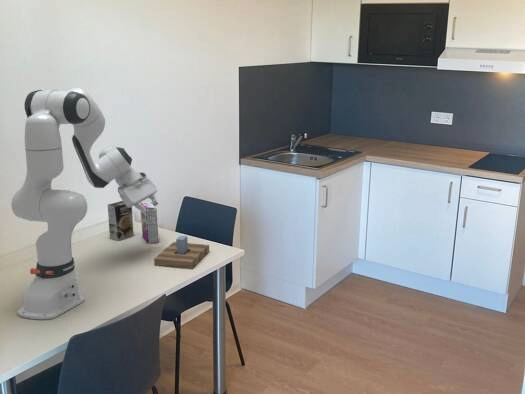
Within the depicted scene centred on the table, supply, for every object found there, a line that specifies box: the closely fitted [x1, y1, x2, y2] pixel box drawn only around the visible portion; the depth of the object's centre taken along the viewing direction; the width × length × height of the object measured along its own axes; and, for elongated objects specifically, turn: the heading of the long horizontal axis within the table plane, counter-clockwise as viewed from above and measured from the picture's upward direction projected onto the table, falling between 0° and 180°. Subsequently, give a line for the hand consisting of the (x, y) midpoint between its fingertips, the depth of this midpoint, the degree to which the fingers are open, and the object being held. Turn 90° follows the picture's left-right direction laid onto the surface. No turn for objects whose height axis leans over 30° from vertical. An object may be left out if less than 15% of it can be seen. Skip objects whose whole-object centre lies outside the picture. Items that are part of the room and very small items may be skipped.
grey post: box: [175, 235, 189, 255], centre depth 229 cm, size 4×3×9 cm, turn 166°
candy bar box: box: [140, 201, 159, 245], centre depth 251 cm, size 11×5×16 cm, turn 25°
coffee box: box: [107, 200, 134, 242], centre depth 254 cm, size 9×6×16 cm
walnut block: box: [153, 241, 210, 270], centre depth 230 cm, size 20×16×3 cm
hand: (151, 208), depth 228 cm, fingers open, 8 cm apart
